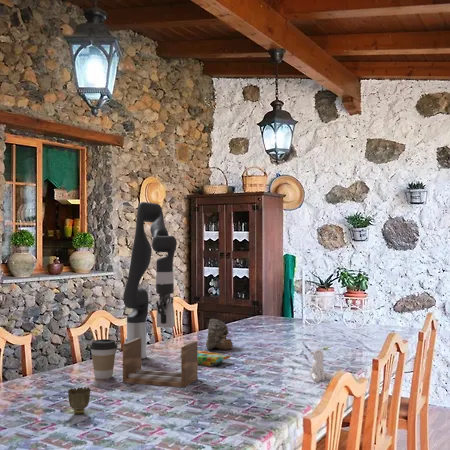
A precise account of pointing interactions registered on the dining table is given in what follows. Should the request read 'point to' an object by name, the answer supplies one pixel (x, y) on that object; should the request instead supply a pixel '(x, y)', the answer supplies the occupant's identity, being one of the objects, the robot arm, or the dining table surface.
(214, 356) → the puzzle game
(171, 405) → the dining table surface
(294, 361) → the dining table surface
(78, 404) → the cup
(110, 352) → the coffee cup
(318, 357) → the seated beast figurine
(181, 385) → the wooden rack
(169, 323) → the white food carton
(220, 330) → the rock
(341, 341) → the dining table surface
